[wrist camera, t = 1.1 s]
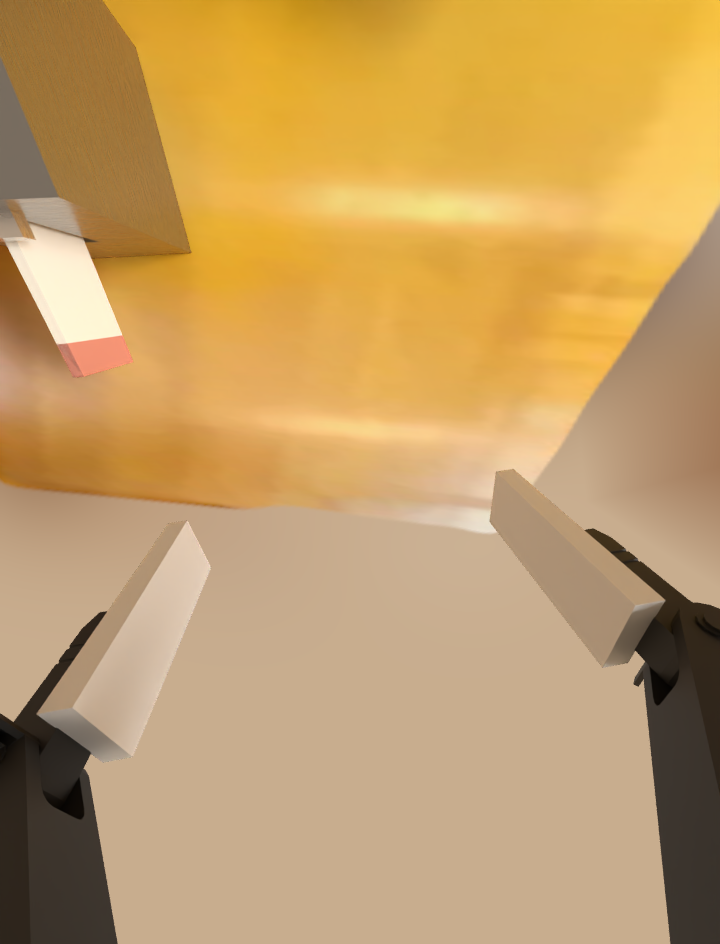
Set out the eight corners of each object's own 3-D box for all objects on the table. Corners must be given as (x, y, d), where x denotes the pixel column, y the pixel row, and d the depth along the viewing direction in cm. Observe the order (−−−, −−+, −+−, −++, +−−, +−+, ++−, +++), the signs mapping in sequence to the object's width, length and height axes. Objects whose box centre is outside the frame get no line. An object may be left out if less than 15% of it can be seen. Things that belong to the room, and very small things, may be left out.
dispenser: (-19, 48, 21) (-699, -470, 7) (135, 47, 22) (-199, -423, 8) (77, 272, 27) (-177, 237, 13) (194, 266, 28) (70, 225, 14)
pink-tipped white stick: (-23, 8, 16) (-188, -136, 11) (-10, 8, 16) (-168, -135, 11) (125, 362, 25) (73, 377, 20) (133, 361, 25) (83, 376, 20)
